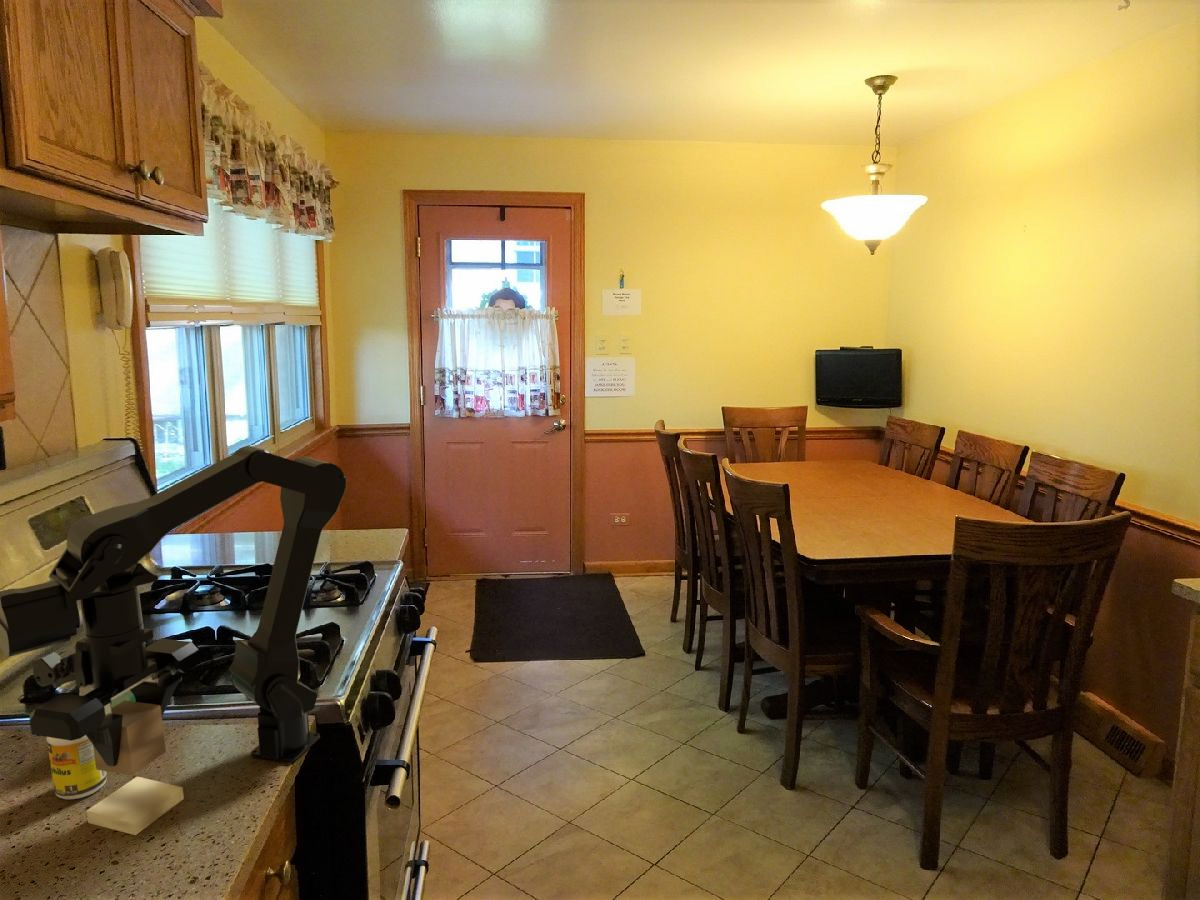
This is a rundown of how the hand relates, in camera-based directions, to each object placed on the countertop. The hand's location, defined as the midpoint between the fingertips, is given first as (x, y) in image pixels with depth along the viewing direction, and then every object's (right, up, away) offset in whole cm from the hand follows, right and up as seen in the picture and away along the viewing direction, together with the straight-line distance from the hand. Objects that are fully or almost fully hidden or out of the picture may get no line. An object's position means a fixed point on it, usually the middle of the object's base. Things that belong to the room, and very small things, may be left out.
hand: (130, 752), depth 96 cm
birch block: (0, -8, +1) cm, 8 cm away
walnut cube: (0, -1, 0) cm, 1 cm away
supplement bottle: (-9, -7, +6) cm, 13 cm away
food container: (-10, -4, +19) cm, 22 cm away
